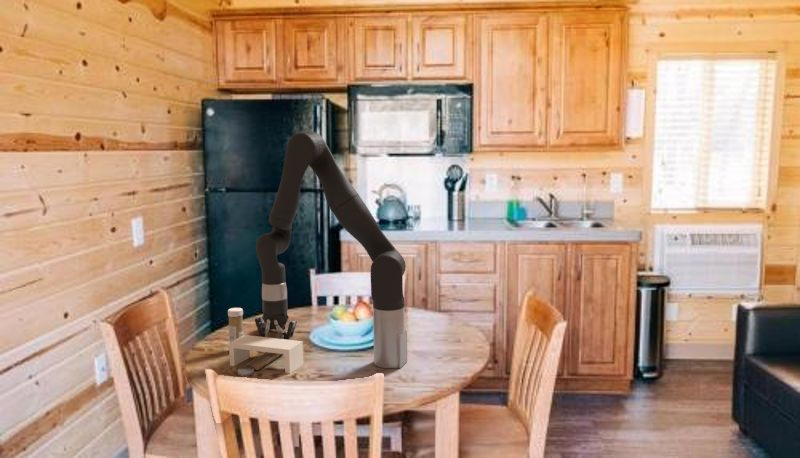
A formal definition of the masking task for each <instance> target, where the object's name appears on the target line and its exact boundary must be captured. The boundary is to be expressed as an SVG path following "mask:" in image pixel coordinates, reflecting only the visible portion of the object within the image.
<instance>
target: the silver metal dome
mask: <svg viewBox="0 0 800 458" xmlns="http://www.w3.org/2000/svg"><path fill="white" fill-rule="evenodd" d="M254 373H255V370H254V368H253V367H250V366H245V367H244V366H241V367H238V368H237V375H238V376H241V375H243V376H241V377H248V376H252V375H254Z"/></svg>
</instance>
